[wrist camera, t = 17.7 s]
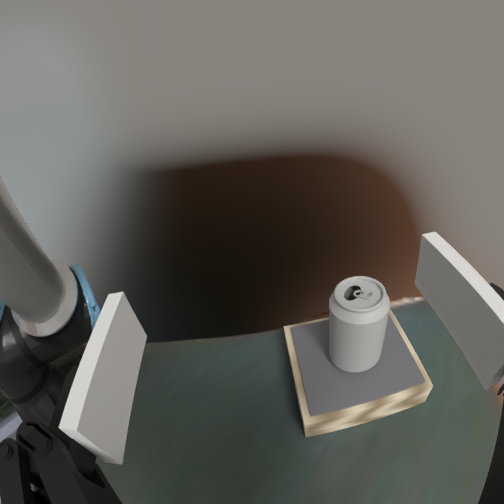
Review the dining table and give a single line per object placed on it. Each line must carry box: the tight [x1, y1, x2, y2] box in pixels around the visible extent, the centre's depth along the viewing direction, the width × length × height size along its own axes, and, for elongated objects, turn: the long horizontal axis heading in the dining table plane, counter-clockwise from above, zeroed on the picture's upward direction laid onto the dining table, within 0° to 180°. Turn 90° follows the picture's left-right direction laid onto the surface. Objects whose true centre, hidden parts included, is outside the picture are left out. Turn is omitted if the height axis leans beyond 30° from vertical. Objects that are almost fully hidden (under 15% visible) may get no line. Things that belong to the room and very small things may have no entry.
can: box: [329, 276, 390, 372], centre depth 36 cm, size 8×8×12 cm
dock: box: [284, 308, 433, 438], centre depth 40 cm, size 18×18×5 cm
